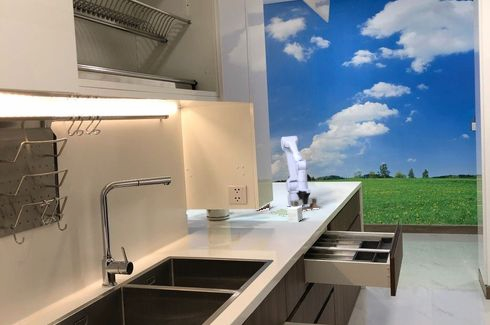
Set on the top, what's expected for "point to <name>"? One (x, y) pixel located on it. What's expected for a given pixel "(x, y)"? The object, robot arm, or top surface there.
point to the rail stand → (312, 205)
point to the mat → (280, 212)
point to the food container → (264, 207)
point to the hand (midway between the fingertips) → (304, 204)
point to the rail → (300, 201)
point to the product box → (294, 214)
